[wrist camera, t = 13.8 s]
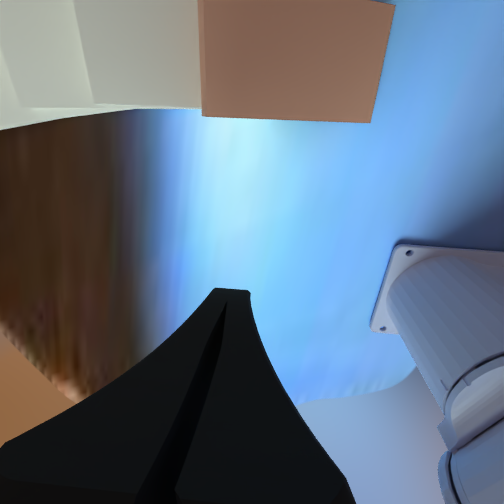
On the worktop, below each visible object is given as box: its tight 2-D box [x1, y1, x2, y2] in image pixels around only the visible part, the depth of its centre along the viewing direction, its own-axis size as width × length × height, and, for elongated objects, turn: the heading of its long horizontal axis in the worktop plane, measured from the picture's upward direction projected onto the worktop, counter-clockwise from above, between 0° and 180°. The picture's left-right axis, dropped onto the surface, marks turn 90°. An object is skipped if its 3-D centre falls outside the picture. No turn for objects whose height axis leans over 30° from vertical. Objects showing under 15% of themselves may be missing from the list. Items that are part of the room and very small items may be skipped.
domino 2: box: [73, 0, 202, 108], centre depth 13 cm, size 2×5×9 cm
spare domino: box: [197, 0, 396, 123], centre depth 13 cm, size 2×5×9 cm
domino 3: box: [0, 0, 202, 109], centre depth 13 cm, size 2×5×9 cm
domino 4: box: [0, 48, 129, 126], centre depth 14 cm, size 2×5×9 cm
